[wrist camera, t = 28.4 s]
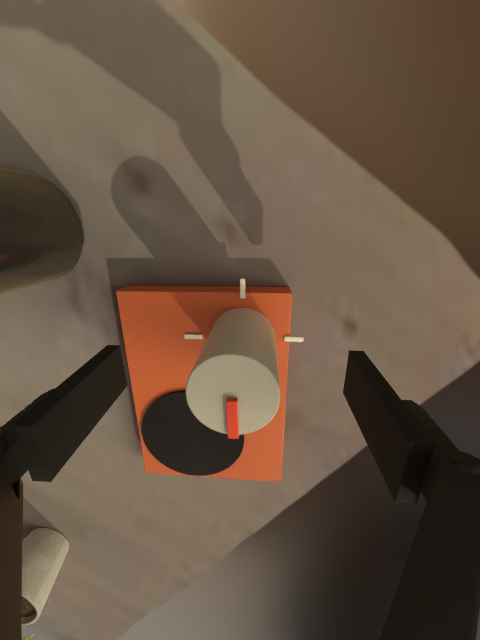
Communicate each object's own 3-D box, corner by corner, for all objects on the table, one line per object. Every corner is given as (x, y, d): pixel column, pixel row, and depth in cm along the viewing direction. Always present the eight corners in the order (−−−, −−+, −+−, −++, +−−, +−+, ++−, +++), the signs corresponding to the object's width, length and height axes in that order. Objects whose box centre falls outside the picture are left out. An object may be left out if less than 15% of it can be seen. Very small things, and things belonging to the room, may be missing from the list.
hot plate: (126, 272, 22) (112, 277, 20) (303, 274, 21) (307, 279, 19) (153, 456, 28) (144, 474, 26) (290, 464, 27) (292, 484, 25)
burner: (136, 387, 23) (134, 389, 23) (244, 392, 22) (244, 394, 22) (148, 469, 26) (147, 472, 26) (244, 476, 26) (244, 479, 25)
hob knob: (209, 307, 20) (179, 356, 13) (275, 307, 20) (282, 357, 12) (213, 365, 22) (188, 437, 14) (274, 366, 21) (279, 441, 14)
